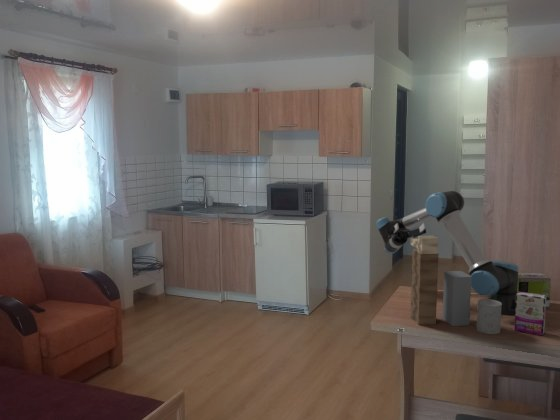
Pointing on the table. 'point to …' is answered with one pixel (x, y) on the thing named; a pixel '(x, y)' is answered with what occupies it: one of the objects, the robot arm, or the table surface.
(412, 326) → the table surface
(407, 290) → the table surface
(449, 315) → the grey pedestal
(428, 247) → the tan wooden bar
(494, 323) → the concrete cylinder
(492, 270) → the robot arm
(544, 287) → the tea box
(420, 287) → the walnut plinth
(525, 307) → the candy bar box
